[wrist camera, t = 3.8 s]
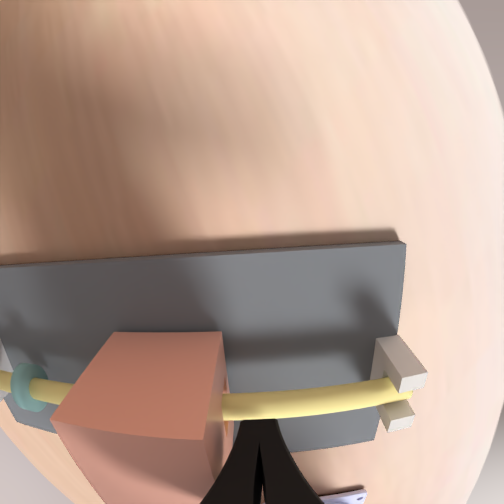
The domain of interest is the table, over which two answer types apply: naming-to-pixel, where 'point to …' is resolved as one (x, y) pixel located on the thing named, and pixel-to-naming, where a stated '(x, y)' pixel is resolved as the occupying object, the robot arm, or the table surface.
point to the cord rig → (227, 332)
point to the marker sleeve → (150, 417)
